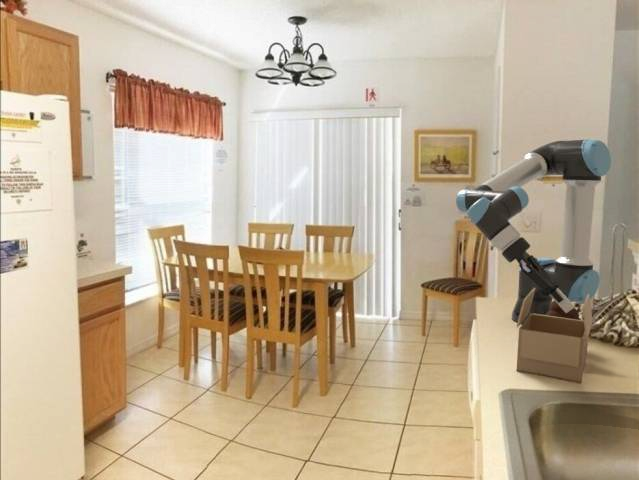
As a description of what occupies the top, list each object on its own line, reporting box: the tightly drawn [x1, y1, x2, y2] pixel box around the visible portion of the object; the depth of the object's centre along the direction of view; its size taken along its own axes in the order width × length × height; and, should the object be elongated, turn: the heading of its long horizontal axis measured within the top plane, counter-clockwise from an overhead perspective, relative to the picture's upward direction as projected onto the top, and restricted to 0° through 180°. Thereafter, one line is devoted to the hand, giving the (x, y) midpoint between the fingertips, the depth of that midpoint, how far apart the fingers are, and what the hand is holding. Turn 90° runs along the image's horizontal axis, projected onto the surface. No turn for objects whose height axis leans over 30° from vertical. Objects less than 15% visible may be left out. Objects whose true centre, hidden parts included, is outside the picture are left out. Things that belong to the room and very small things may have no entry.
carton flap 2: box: [581, 294, 593, 339], centre depth 145 cm, size 18×8×1 cm
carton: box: [516, 314, 589, 384], centre depth 151 cm, size 19×16×12 cm
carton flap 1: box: [515, 288, 536, 328], centre depth 153 cm, size 18×8×1 cm
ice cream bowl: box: [546, 299, 582, 320], centre depth 167 cm, size 11×11×15 cm
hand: (570, 309), depth 147 cm, fingers closed
